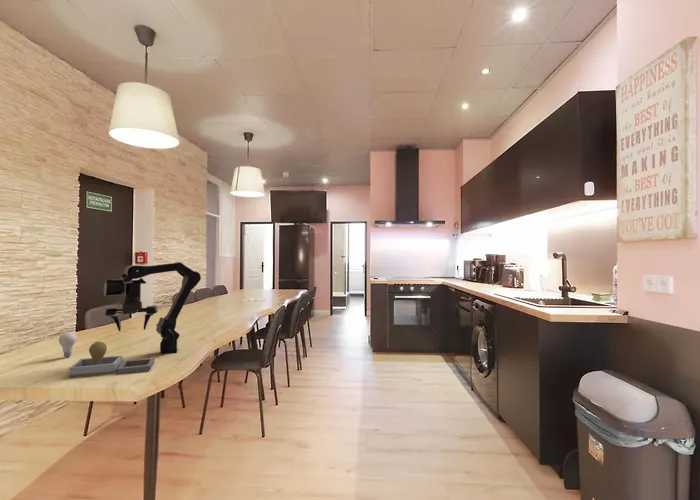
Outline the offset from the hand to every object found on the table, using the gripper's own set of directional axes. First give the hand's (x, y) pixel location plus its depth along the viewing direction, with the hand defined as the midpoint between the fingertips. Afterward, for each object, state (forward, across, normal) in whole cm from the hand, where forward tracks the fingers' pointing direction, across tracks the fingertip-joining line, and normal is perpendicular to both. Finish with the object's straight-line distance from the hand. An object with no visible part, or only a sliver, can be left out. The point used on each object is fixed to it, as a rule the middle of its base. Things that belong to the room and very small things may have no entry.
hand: (132, 330), depth 152 cm
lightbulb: (+12, -26, +11) cm, 31 cm away
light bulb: (+11, -9, -14) cm, 20 cm away
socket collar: (+12, +4, -16) cm, 20 cm away
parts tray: (+12, -9, -14) cm, 21 cm away
